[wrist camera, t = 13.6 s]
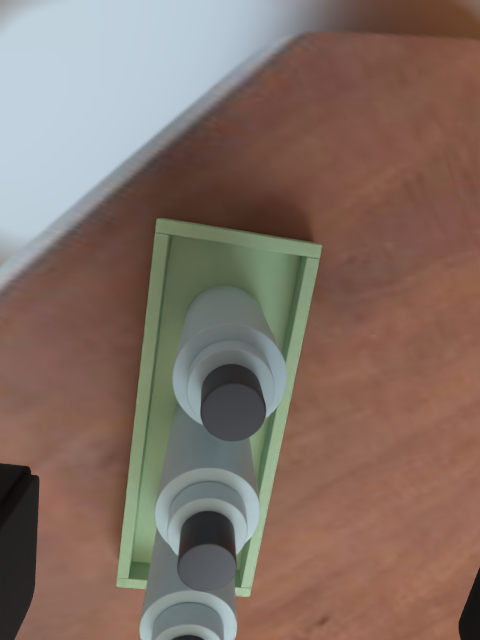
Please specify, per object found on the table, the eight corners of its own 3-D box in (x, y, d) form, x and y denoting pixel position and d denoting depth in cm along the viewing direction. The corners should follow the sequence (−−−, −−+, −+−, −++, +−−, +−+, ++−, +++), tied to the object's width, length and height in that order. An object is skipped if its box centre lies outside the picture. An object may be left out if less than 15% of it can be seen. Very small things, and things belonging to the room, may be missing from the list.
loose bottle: (190, 279, 26) (172, 338, 14) (269, 291, 27) (314, 357, 15) (180, 355, 27) (156, 466, 16) (256, 365, 28) (288, 480, 16)
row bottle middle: (176, 382, 28) (151, 509, 16) (251, 392, 28) (279, 521, 17) (167, 449, 29) (137, 613, 17) (239, 457, 30) (257, 621, 18)
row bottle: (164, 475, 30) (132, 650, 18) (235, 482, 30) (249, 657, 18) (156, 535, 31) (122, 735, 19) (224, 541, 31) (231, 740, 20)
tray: (160, 217, 26) (156, 217, 24) (314, 242, 27) (322, 245, 25) (121, 563, 32) (115, 587, 30) (247, 573, 33) (249, 597, 31)
